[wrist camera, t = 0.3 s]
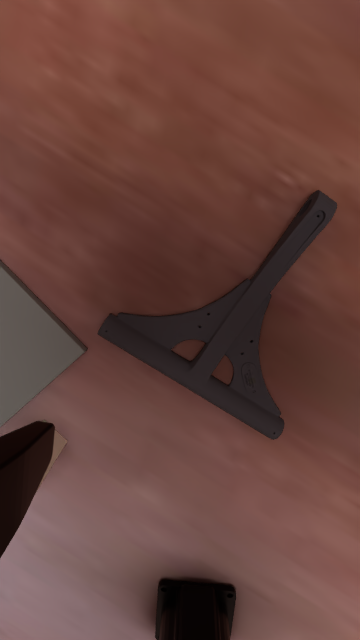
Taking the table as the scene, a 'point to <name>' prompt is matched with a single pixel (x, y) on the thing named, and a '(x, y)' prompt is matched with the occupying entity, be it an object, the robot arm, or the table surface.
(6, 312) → the mat
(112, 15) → the table surface
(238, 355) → the bracket
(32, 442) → the robot arm
